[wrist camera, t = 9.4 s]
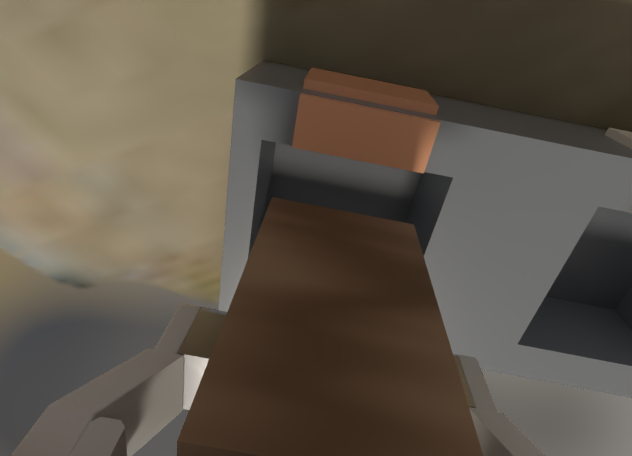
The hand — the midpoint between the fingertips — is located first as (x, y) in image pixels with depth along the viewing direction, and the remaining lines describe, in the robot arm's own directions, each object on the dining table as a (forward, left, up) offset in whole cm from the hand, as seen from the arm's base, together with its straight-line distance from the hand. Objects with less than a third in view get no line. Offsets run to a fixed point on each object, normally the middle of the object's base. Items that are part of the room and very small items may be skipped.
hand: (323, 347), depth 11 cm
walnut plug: (0, 0, -4) cm, 4 cm away
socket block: (-6, 0, -10) cm, 11 cm away
